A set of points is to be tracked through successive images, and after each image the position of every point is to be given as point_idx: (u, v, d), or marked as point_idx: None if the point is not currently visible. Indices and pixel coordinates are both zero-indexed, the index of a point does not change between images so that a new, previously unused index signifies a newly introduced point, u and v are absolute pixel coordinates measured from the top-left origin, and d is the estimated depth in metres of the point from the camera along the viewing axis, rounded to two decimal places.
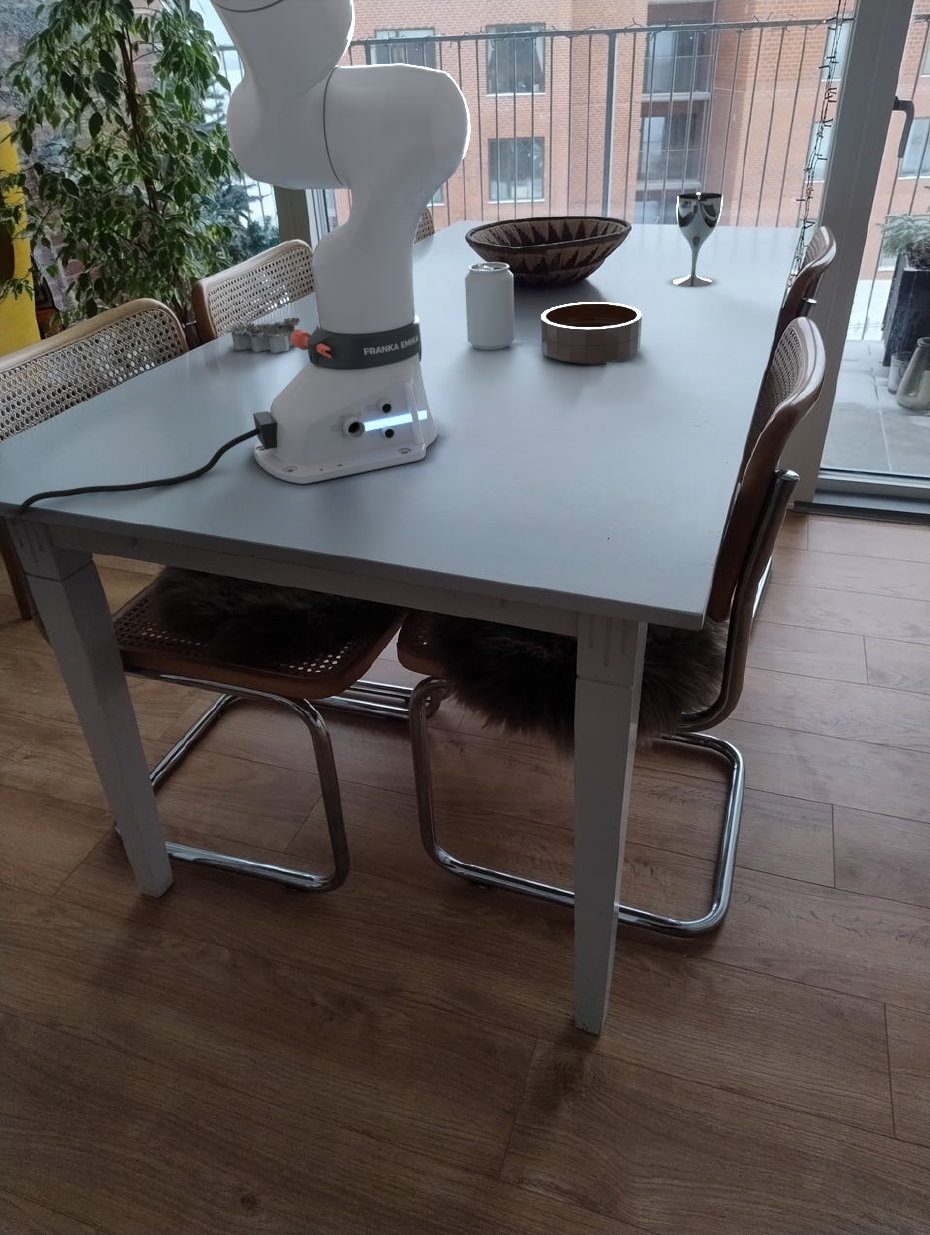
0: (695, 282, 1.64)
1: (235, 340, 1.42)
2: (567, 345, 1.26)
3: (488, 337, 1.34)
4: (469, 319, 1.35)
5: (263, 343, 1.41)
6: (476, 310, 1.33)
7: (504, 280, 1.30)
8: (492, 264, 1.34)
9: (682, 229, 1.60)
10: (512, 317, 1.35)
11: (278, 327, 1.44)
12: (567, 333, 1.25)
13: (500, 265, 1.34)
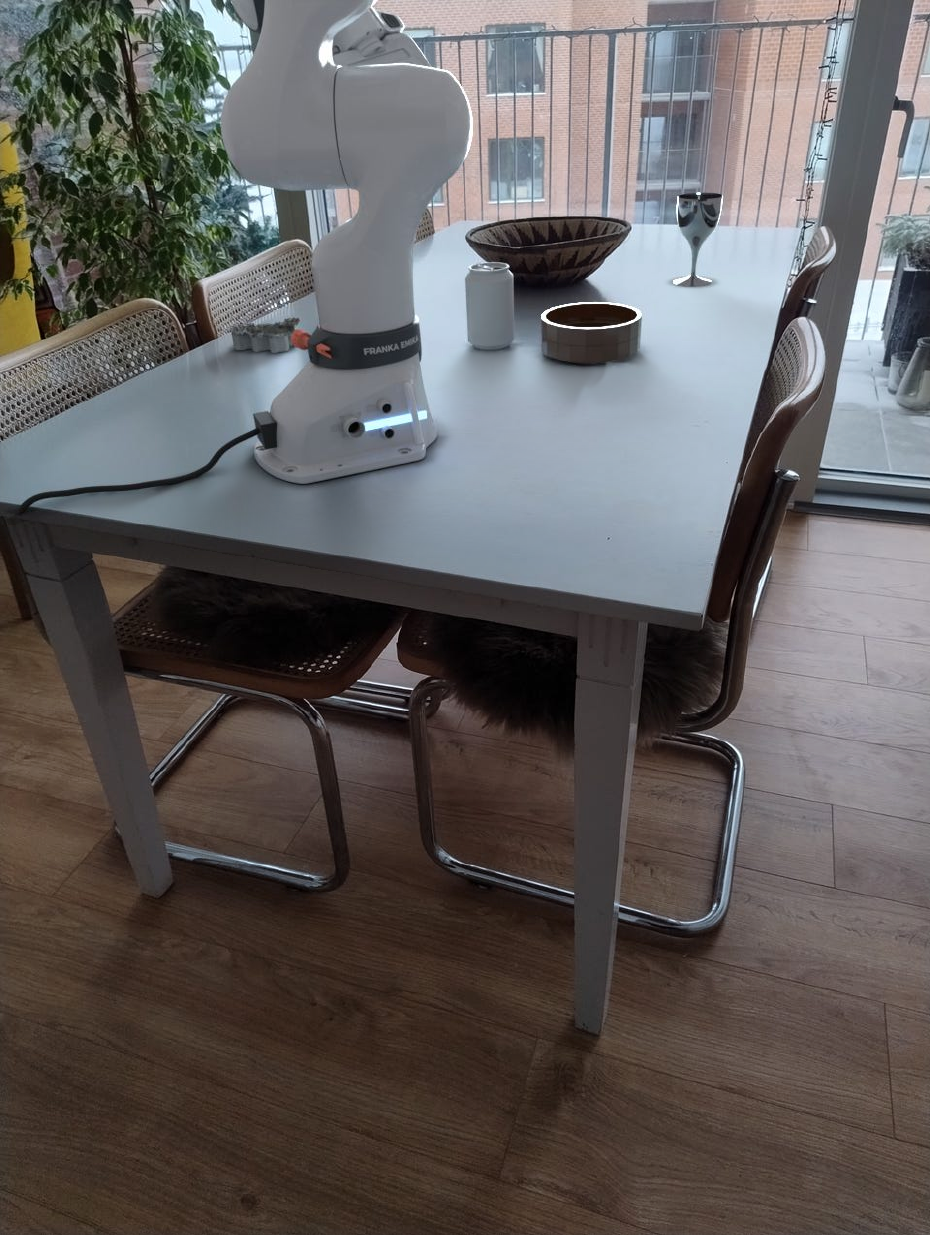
0: (695, 282, 1.64)
1: (235, 340, 1.42)
2: (567, 345, 1.26)
3: (488, 337, 1.34)
4: (469, 319, 1.35)
5: (263, 342, 1.41)
6: (476, 310, 1.33)
7: (504, 280, 1.30)
8: (492, 264, 1.34)
9: (682, 229, 1.60)
10: (512, 317, 1.35)
11: (278, 327, 1.44)
12: (567, 333, 1.25)
13: (500, 265, 1.34)
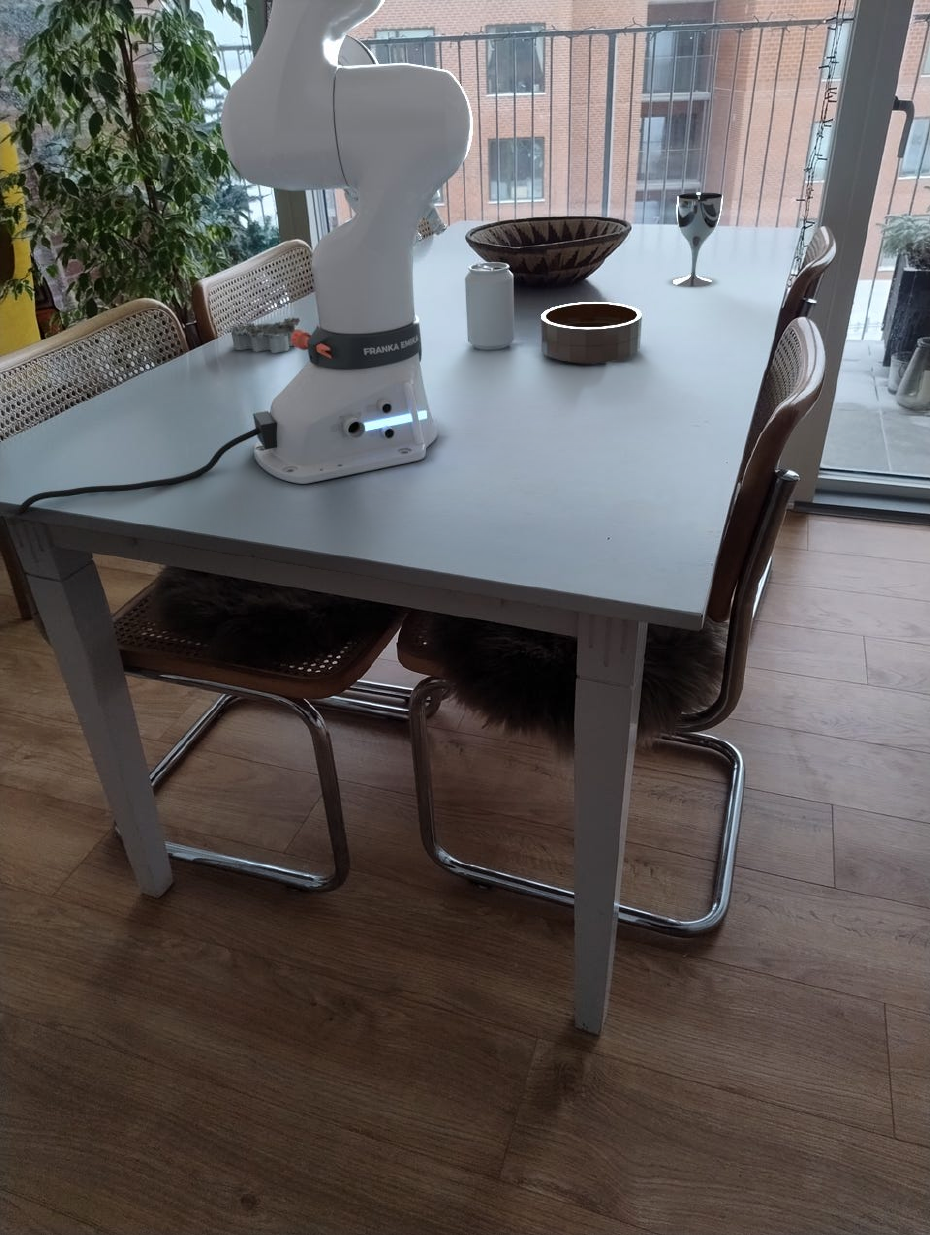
0: (695, 282, 1.64)
1: (235, 340, 1.42)
2: (567, 345, 1.26)
3: (488, 337, 1.34)
4: (469, 319, 1.35)
5: (263, 342, 1.41)
6: (476, 310, 1.33)
7: (504, 280, 1.30)
8: (492, 264, 1.34)
9: (682, 229, 1.60)
10: (512, 317, 1.35)
11: (278, 327, 1.44)
12: (567, 333, 1.25)
13: (500, 265, 1.34)
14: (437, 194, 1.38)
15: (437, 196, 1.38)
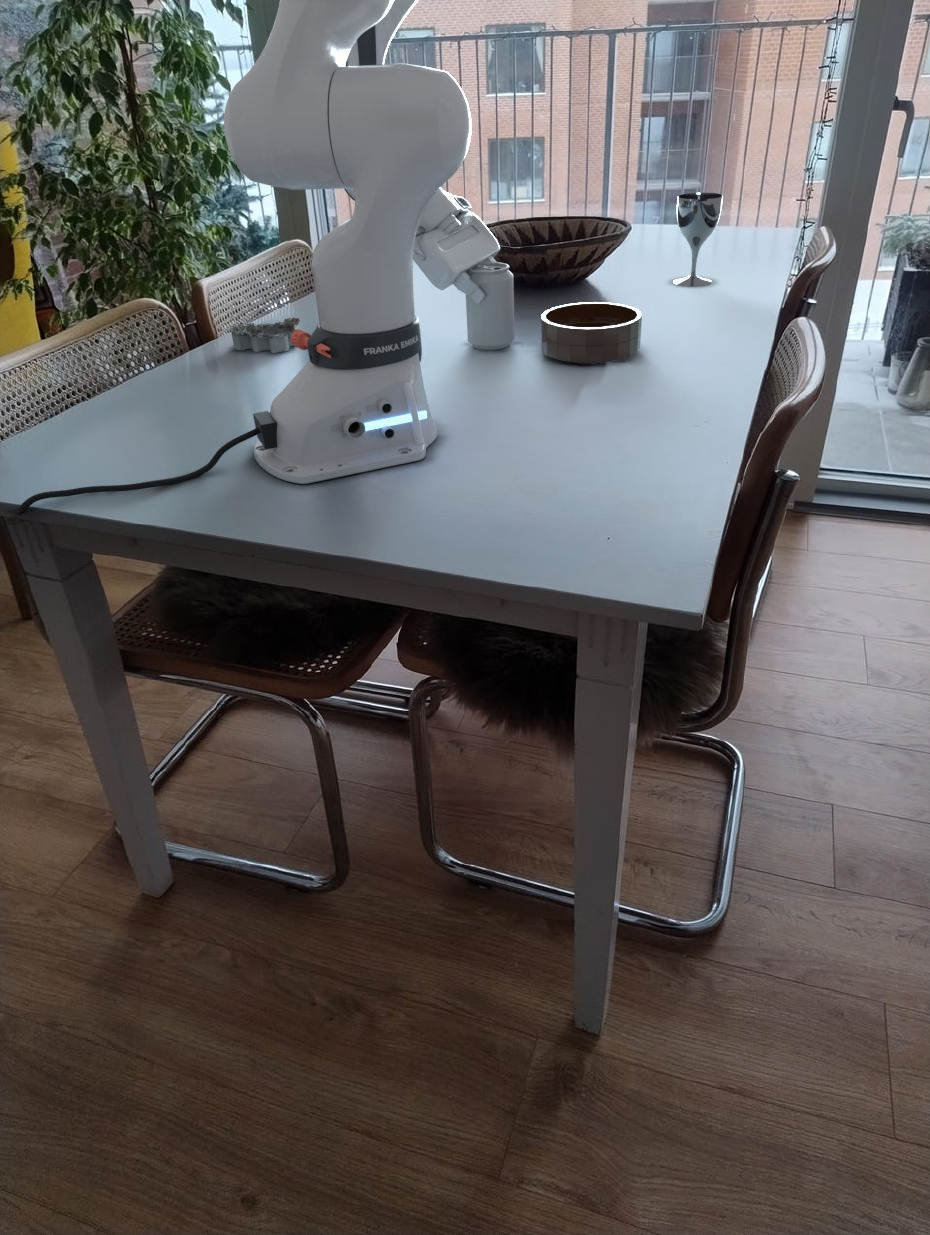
0: (695, 282, 1.64)
1: (235, 340, 1.42)
2: (567, 345, 1.26)
3: (489, 337, 1.34)
4: (469, 319, 1.35)
5: (263, 342, 1.41)
6: (477, 310, 1.33)
7: (504, 280, 1.30)
8: (492, 264, 1.34)
9: (682, 229, 1.60)
10: (512, 317, 1.35)
11: (278, 327, 1.44)
12: (567, 333, 1.25)
13: (500, 265, 1.34)
14: (498, 248, 1.39)
15: (498, 250, 1.39)
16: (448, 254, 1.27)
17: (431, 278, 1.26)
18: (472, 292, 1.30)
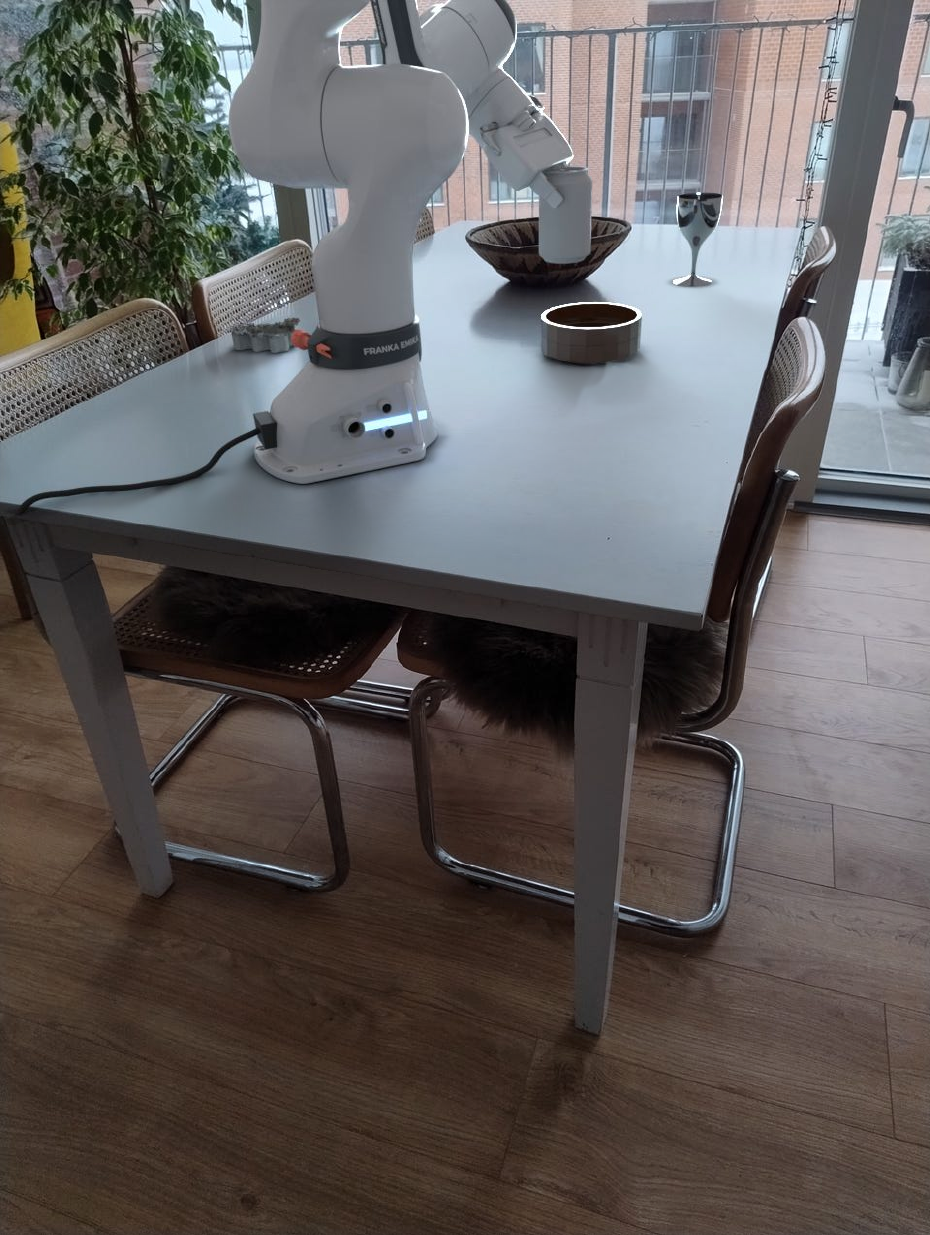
0: (695, 282, 1.64)
1: (235, 340, 1.42)
2: (567, 345, 1.26)
3: (564, 248, 1.23)
4: (542, 229, 1.23)
5: (263, 342, 1.41)
6: (552, 217, 1.21)
7: (583, 182, 1.19)
8: (568, 168, 1.23)
9: (682, 229, 1.60)
10: (589, 227, 1.23)
11: (278, 327, 1.44)
12: (567, 333, 1.25)
13: (577, 169, 1.22)
14: (571, 154, 1.27)
15: (571, 156, 1.27)
16: (525, 151, 1.15)
17: (506, 177, 1.15)
18: (549, 195, 1.18)
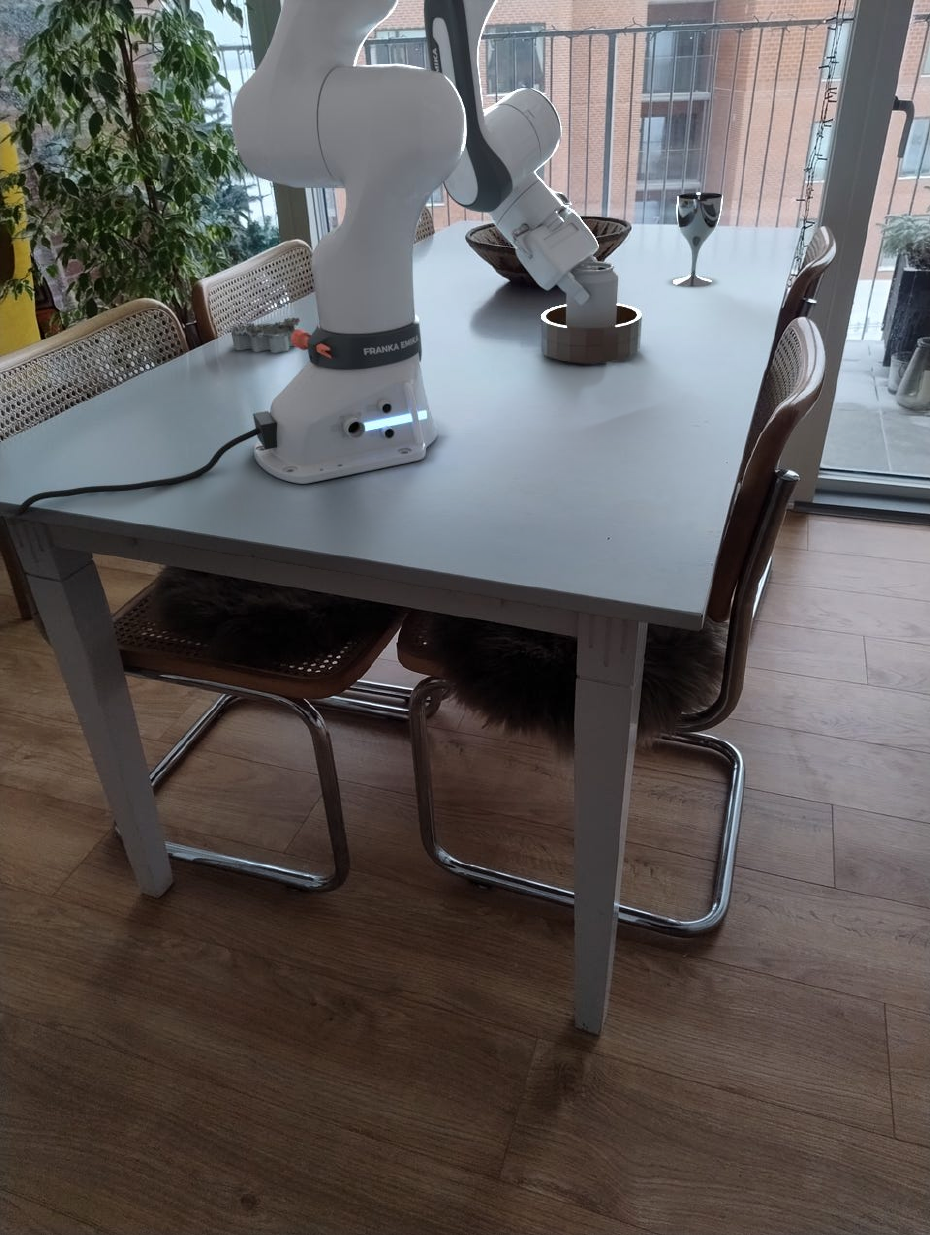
0: (695, 282, 1.64)
1: (235, 340, 1.42)
2: (567, 345, 1.26)
3: None
4: (570, 321, 1.29)
5: (263, 342, 1.41)
6: (579, 311, 1.27)
7: (610, 280, 1.24)
8: (594, 264, 1.28)
9: (682, 229, 1.60)
10: (615, 319, 1.29)
11: (278, 327, 1.44)
12: (567, 333, 1.25)
13: (603, 265, 1.28)
14: (597, 246, 1.33)
15: (597, 248, 1.33)
16: (555, 253, 1.21)
17: (537, 278, 1.20)
18: (576, 293, 1.24)
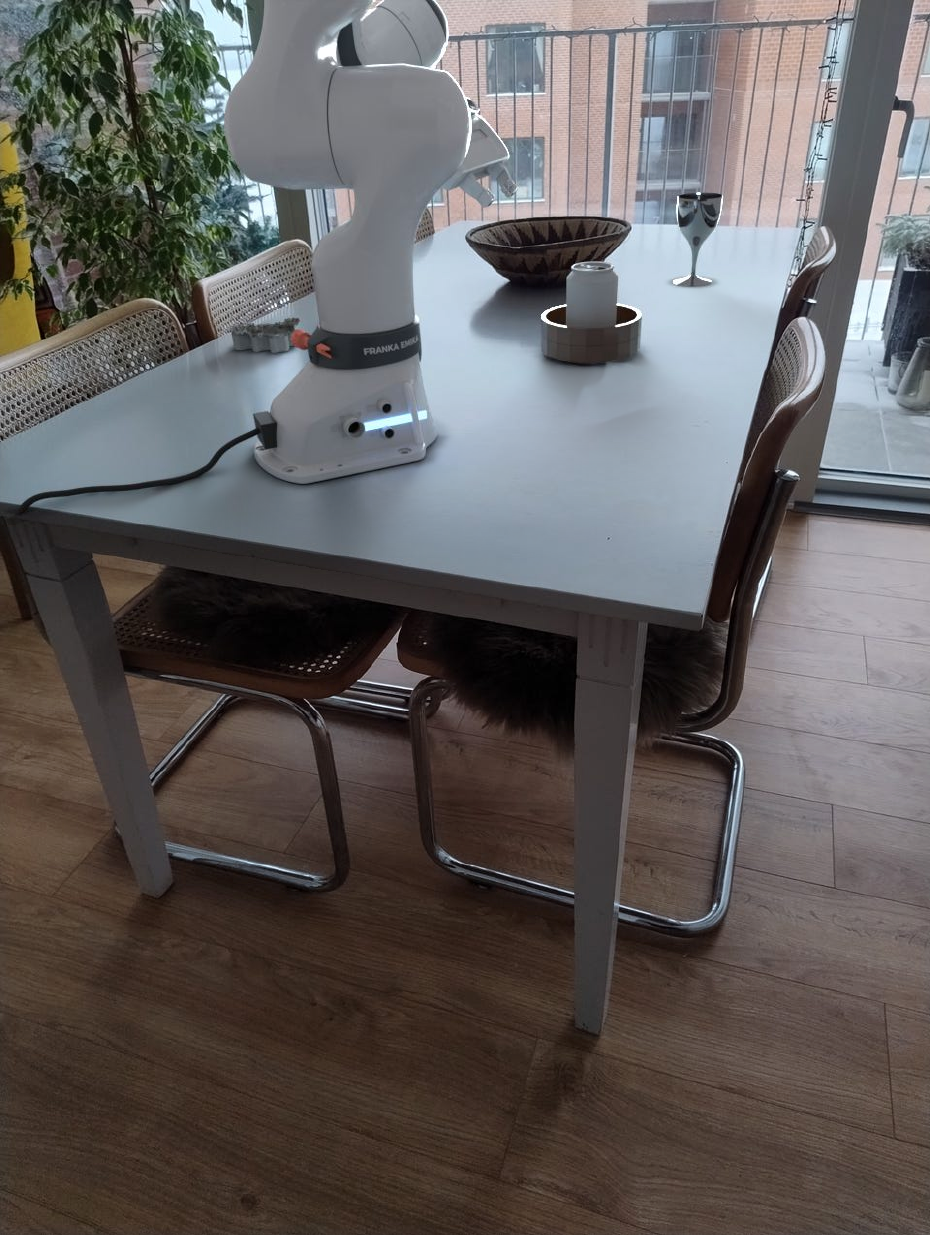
0: (695, 282, 1.64)
1: (235, 340, 1.42)
2: (567, 345, 1.26)
3: None
4: (570, 321, 1.29)
5: (263, 342, 1.41)
6: (579, 311, 1.27)
7: (610, 280, 1.24)
8: (594, 264, 1.28)
9: (682, 229, 1.60)
10: (615, 319, 1.29)
11: (278, 327, 1.44)
12: (567, 333, 1.25)
13: (603, 265, 1.28)
14: (507, 154, 1.31)
15: (507, 156, 1.31)
16: None
17: None
18: (479, 195, 1.22)
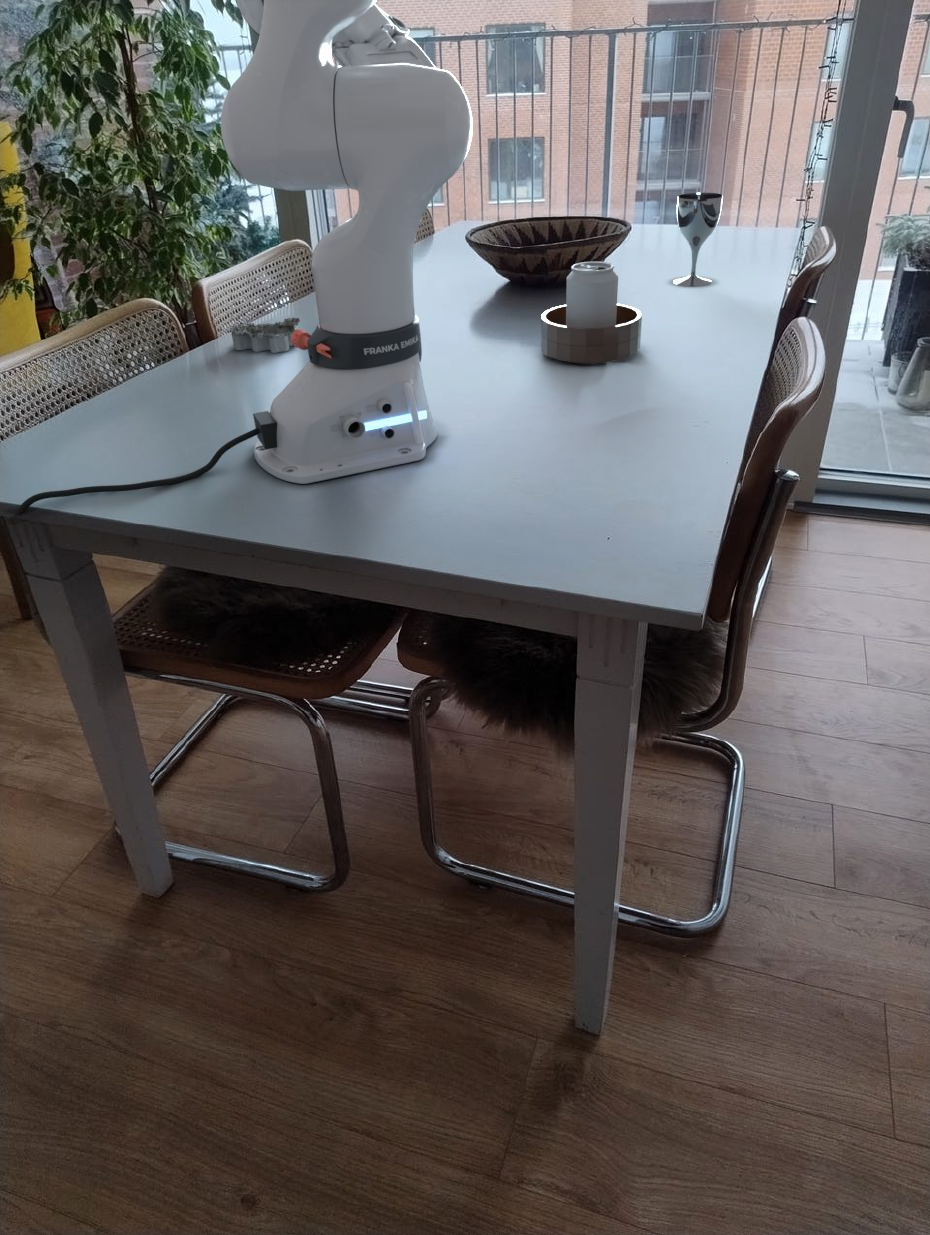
0: (695, 282, 1.64)
1: (235, 340, 1.42)
2: (567, 345, 1.26)
3: None
4: (570, 321, 1.29)
5: (263, 342, 1.41)
6: (579, 311, 1.27)
7: (610, 280, 1.24)
8: (594, 264, 1.28)
9: (682, 229, 1.60)
10: (615, 319, 1.29)
11: (278, 327, 1.44)
12: (567, 333, 1.25)
13: (603, 265, 1.28)
14: None
15: None
16: None
17: None
18: None
